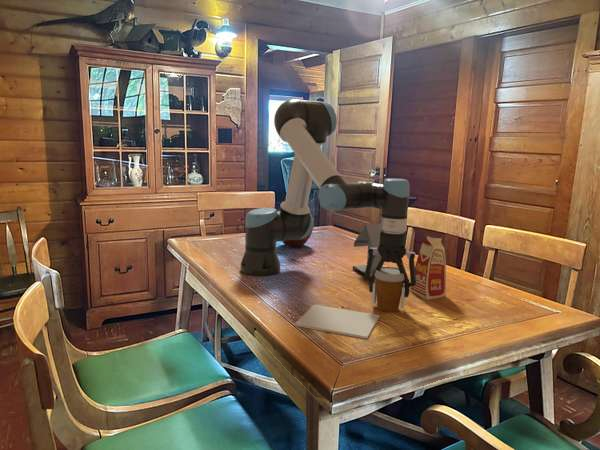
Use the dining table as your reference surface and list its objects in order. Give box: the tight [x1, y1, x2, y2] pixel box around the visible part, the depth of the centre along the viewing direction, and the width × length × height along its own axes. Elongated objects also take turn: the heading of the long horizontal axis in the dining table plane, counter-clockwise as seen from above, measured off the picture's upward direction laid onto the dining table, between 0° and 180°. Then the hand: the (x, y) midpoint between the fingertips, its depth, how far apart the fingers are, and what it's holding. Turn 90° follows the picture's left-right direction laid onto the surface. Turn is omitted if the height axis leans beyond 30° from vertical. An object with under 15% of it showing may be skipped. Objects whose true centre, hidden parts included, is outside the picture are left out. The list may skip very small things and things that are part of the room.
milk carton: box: [409, 235, 447, 301], centre depth 153 cm, size 9×9×20 cm
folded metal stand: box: [352, 223, 384, 281], centre depth 172 cm, size 18×10×20 cm, turn 17°
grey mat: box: [294, 304, 380, 340], centre depth 129 cm, size 20×16×1 cm
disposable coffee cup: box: [374, 266, 405, 313], centre depth 139 cm, size 10×10×12 cm
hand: (388, 304), depth 140 cm, fingers closed on disposable coffee cup, 8 cm apart
